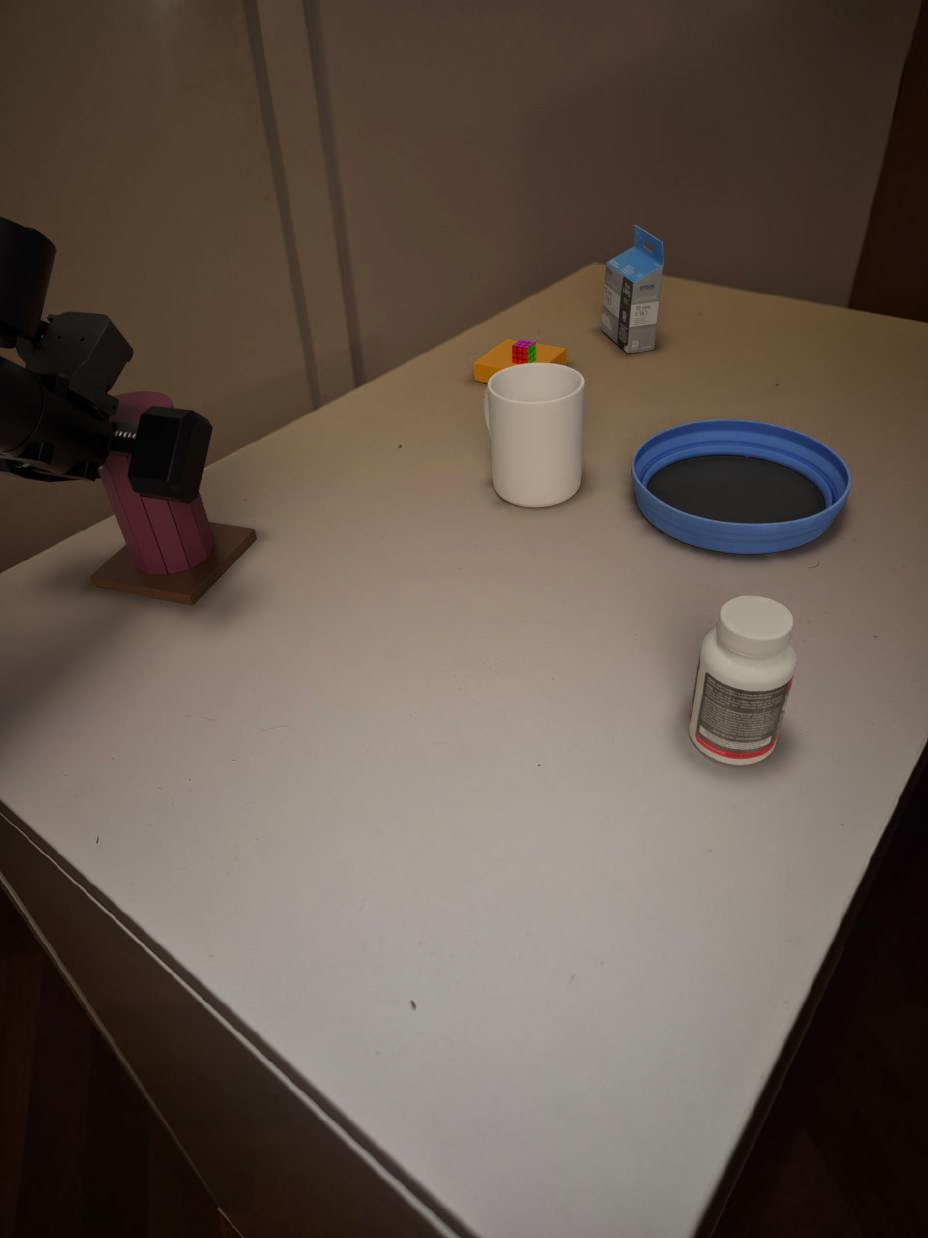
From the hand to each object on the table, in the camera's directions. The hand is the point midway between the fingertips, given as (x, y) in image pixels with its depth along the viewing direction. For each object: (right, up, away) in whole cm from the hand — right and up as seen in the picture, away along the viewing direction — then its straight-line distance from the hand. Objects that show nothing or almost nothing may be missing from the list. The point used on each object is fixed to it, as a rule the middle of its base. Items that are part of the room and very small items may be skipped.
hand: (161, 475), depth 68 cm
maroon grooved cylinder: (0, -6, +3) cm, 7 cm away
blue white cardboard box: (+45, +23, +36) cm, 62 cm away
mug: (+31, +1, +11) cm, 33 cm away
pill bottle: (+42, -19, -15) cm, 48 cm away
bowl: (+49, -2, +6) cm, 49 cm away
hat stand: (0, -7, +4) cm, 8 cm away
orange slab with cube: (+31, +17, +30) cm, 47 cm away
